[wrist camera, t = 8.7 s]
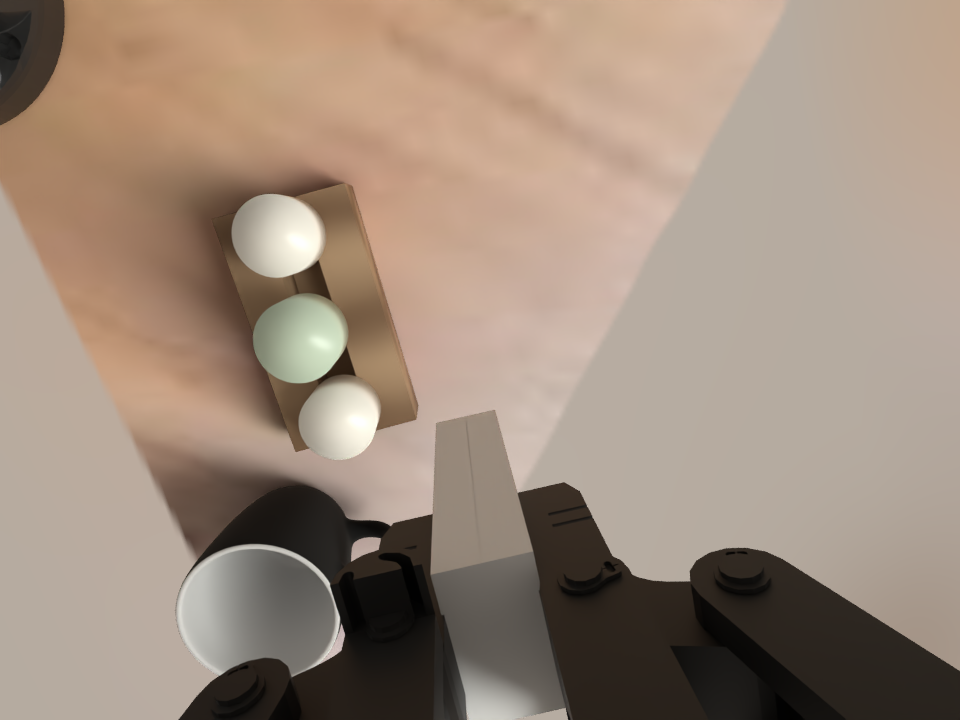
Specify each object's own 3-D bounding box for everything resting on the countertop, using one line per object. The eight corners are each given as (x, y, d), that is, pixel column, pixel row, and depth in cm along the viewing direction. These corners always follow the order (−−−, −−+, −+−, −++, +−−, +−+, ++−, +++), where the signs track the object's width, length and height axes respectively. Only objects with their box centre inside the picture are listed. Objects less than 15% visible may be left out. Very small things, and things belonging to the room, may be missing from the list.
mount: (229, 219, 38) (211, 219, 35) (352, 186, 38) (344, 183, 35) (306, 435, 41) (295, 452, 38) (418, 405, 41) (416, 419, 38)
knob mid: (270, 299, 36) (240, 312, 30) (341, 280, 36) (323, 290, 30) (294, 368, 37) (269, 392, 32) (363, 349, 37) (350, 371, 31)
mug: (257, 593, 44) (203, 702, 34) (220, 483, 42) (151, 563, 32) (418, 559, 44) (410, 656, 34) (389, 446, 42) (372, 516, 32)
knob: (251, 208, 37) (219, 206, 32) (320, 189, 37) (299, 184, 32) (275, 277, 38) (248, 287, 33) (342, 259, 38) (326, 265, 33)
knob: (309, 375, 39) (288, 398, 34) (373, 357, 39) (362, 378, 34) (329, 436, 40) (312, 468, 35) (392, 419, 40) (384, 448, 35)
